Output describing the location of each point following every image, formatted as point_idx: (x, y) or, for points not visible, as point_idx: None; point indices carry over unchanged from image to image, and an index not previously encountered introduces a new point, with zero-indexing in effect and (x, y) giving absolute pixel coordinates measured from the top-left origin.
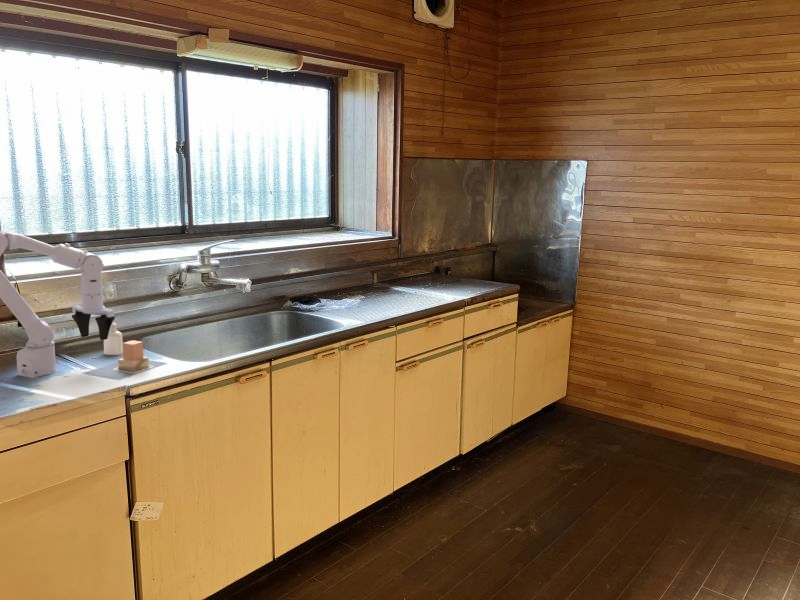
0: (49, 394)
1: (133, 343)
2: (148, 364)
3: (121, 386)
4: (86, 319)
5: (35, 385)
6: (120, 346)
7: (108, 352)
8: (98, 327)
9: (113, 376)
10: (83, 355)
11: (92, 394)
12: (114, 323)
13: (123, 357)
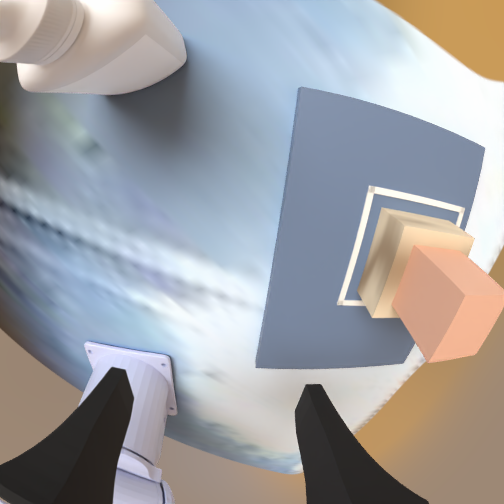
0: (288, 441)
1: (476, 340)
2: (455, 226)
3: (415, 369)
4: (87, 486)
5: (209, 426)
6: (174, 44)
7: (121, 91)
8: (307, 495)
9: (378, 352)
10: (26, 139)
11: (373, 415)
12: (28, 2)
13: (396, 309)
